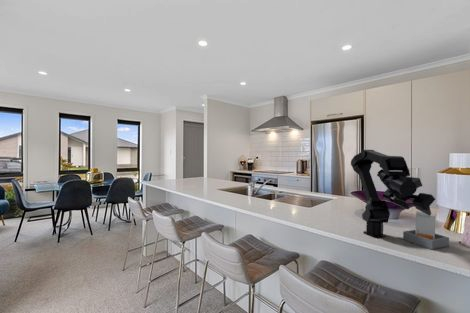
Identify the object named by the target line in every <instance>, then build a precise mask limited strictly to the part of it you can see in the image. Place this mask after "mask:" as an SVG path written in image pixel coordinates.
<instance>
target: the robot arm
mask: <svg viewBox="0 0 470 313" xmlns="http://www.w3.org/2000/svg"><path fill="white" fill-rule="evenodd" d="M374 163H377V164H378V166H379V168H381V169H380V170H378V171H377V174H376V176H377V177H378V178H379V179H380V181H381V182H382V184H384V186H385V187H386V188H387V189H386V190H385V191H384V192H383V193H382V198H383V199H384V200H381V199H380V197H379V194H378V191H377V188H376V186H375V183H374V182H375V181H374V180H373V178H372V177H373V176H372V175H371V172H370V171H371V169H372V165H373V164H374ZM350 165H351V167H352V170H353V171H354V172H355V173H357V175H358V176H359V179H360V183H361V187H362V188H363V192H364V195H365V198H366V203H365V207H364V208H365V210H364V211H363V213H361V215H362V216H361V217H362V220H363V221H365V222H366V223H365V224H366V226H365V227H366V229H365V231H363V234H365V235H368V236H371V237H372V238H377V239H378V238H383V237H387V234H386V233H384V223H385V224H388V222H389V219H390V216H391V212H390V208H389V206H388V204H387V201H388V202H389V203H392V204H395V205H397V206H398V207H401V208H403V209H405V210H409V209H410V206H409V204H408V203H407V201H412V206H413V207H415V209H416V210H417V211H419V212H423V213H425V214H427V215H429V216H430V215H431V213H432V211H431V205H432V204H433V203H434V201H436V198H435V196H434V195H433V194H430V193H424V192H419V193H418V194H416V192H417V190H418V188H420V187H423V182H422V181H421V178H420V177H414V176H412V177H411V174H410V168H409V167H408V164H407V162H406V160H405V158H404V156H401V155H400V156H399V155H387V154H385V153H381V152H379V151H376V150H375V149H364V150H361V152H359V153H358V154H356V155H354V156H353V157H352V158H351V161H350Z"/></svg>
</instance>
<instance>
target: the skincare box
mask: <svg viewBox="0 0 470 313" xmlns="http://www.w3.org/2000/svg"><path fill="white" fill-rule="evenodd" d="M436 216H437V215H436V213H432V212H431V215H430V216H429V215H427V214H425V213H423V212H421V211H420V210H417V211H416V212H415V229H414V230H415V235H418V236H421V237H424V238H427V239H430V240H433V239H435V234H436V219H437V218H436Z"/></svg>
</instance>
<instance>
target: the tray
mask: <svg viewBox="0 0 470 313" xmlns="http://www.w3.org/2000/svg"><path fill="white" fill-rule="evenodd" d="M402 234H403V236H402V238H403V241H406V242H410V243H412V244H415V245H418V246H420V247H423V248H425V249H429V250H431V251H432V250H437V249H443V248H446V247H450V237H448V236H445V235H442V234H439V233H435V239H433V240H430V239H427V238H424V237H421V236H418V235H415V229H411V230H410V229H409V230H403V232H402Z"/></svg>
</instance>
